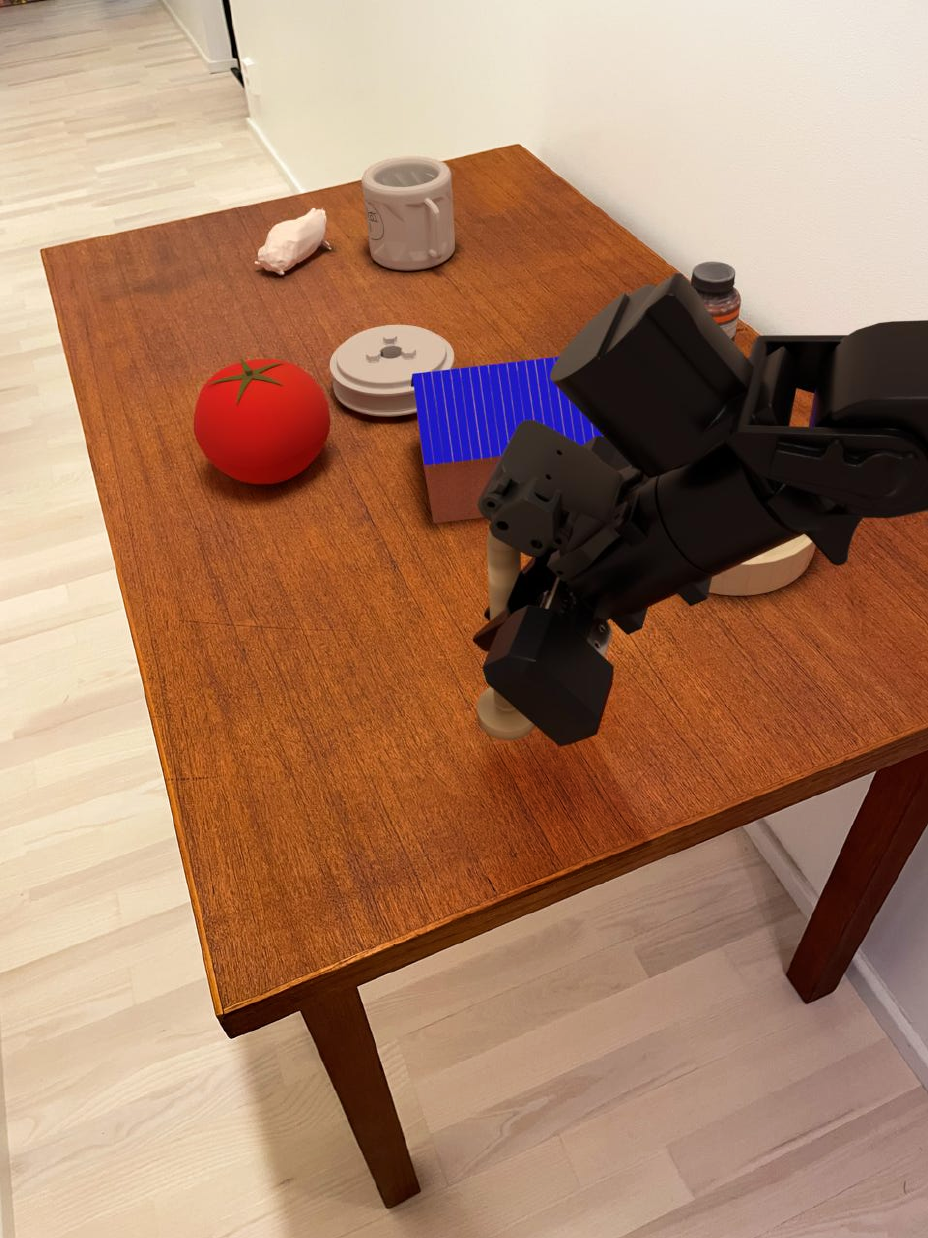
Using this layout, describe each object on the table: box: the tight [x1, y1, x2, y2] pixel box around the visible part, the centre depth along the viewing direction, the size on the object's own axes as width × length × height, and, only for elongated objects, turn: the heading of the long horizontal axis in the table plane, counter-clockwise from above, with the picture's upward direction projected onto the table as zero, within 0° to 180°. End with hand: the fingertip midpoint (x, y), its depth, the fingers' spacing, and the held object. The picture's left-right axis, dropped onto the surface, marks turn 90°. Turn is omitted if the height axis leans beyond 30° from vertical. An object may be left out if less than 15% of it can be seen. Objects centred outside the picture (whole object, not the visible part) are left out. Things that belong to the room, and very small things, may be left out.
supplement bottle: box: [690, 261, 742, 343], centre depth 95 cm, size 6×6×11 cm
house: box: [411, 356, 604, 524], centre depth 85 cm, size 12×20×12 cm, turn 98°
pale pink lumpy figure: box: [254, 206, 332, 276], centre depth 119 cm, size 5×7×10 cm
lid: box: [329, 324, 455, 417], centre depth 98 cm, size 13×13×5 cm
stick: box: [476, 529, 537, 742], centre depth 56 cm, size 4×4×16 cm
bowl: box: [709, 534, 817, 597], centre depth 80 cm, size 14×14×4 cm
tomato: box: [193, 358, 331, 485], centre depth 88 cm, size 11×12×10 cm
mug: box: [361, 155, 456, 272], centre depth 117 cm, size 14×11×10 cm
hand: (484, 630), depth 57 cm, fingers closed on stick, 2 cm apart
